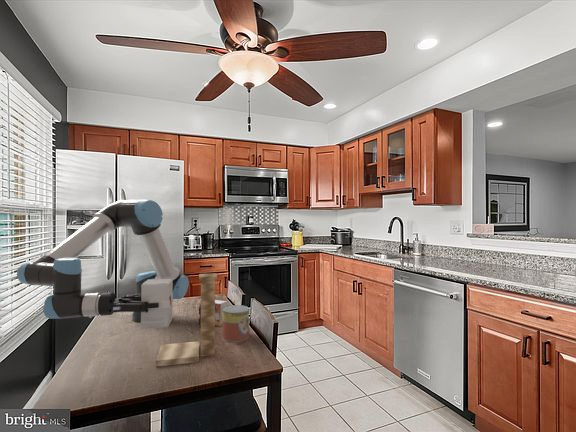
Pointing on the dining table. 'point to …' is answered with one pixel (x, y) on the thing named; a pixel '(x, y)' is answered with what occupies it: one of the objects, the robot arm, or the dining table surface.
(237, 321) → the canned food
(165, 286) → the supplement box
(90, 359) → the dining table surface
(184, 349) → the maple pad
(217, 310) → the small box
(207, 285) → the oak post
